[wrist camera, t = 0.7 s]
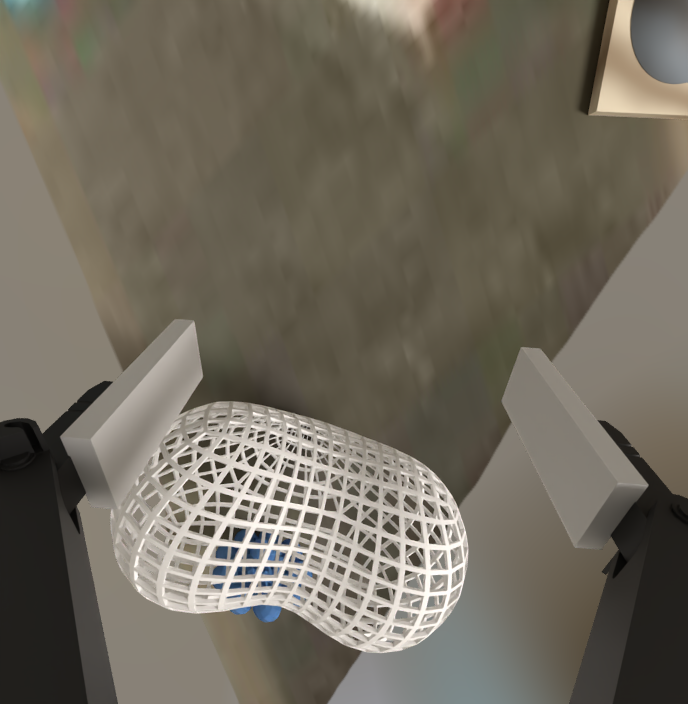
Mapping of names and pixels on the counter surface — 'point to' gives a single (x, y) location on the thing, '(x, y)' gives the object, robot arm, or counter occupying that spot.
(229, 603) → the heart
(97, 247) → the counter surface
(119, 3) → the counter surface
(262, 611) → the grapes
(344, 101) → the counter surface
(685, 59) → the board
